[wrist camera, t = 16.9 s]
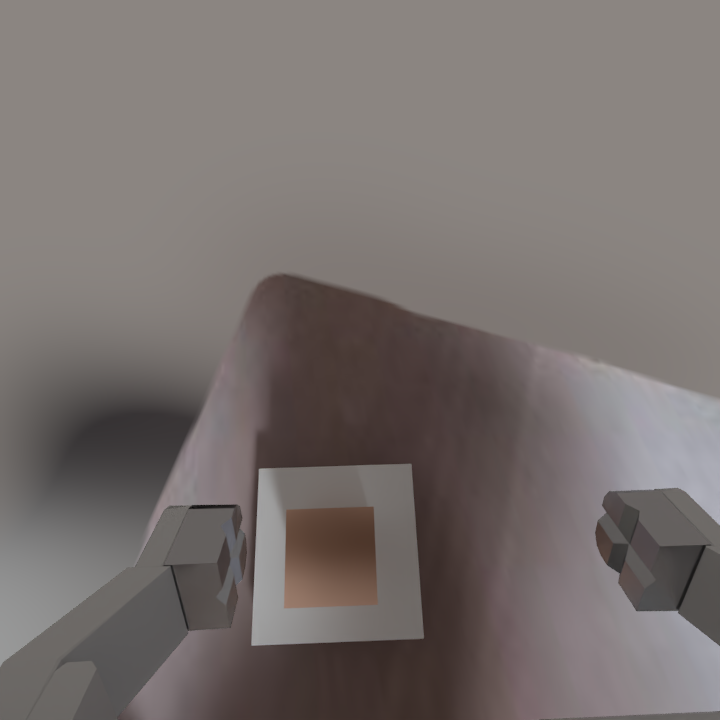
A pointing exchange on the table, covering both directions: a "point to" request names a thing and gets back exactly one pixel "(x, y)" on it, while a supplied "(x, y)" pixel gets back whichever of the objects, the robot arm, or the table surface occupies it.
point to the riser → (392, 544)
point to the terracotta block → (330, 557)
